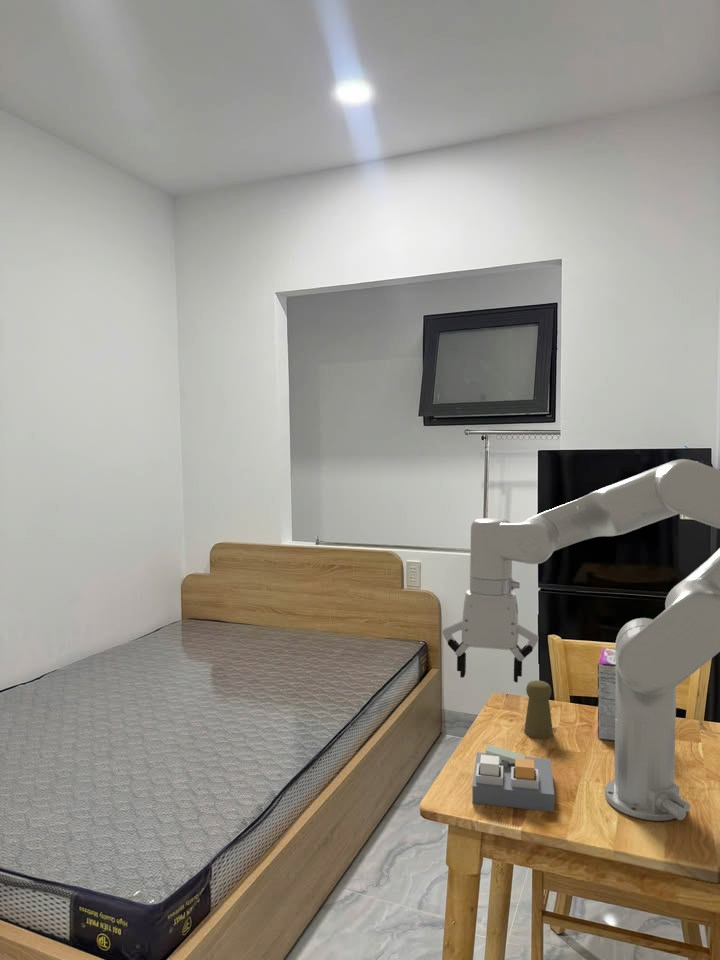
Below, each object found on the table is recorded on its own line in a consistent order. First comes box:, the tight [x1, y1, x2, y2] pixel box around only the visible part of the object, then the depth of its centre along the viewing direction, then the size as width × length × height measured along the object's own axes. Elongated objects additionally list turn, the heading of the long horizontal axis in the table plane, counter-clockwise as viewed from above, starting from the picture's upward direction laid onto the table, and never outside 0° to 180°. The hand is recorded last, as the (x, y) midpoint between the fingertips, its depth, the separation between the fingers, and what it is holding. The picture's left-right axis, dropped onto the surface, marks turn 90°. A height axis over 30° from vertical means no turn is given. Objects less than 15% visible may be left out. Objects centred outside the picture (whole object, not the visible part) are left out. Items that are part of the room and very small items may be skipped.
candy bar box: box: [597, 647, 616, 742], centre depth 144 cm, size 11×5×16 cm, turn 155°
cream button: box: [480, 755, 499, 776], centre depth 119 cm, size 3×3×2 cm
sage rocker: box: [485, 743, 526, 764], centre depth 124 cm, size 7×3×1 cm, turn 77°
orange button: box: [515, 758, 534, 779], centre depth 117 cm, size 3×3×2 cm
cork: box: [523, 680, 554, 740], centre depth 144 cm, size 6×6×11 cm
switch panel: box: [471, 752, 555, 813], centre depth 121 cm, size 14×13×4 cm
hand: (489, 677), depth 124 cm, fingers open, 9 cm apart
